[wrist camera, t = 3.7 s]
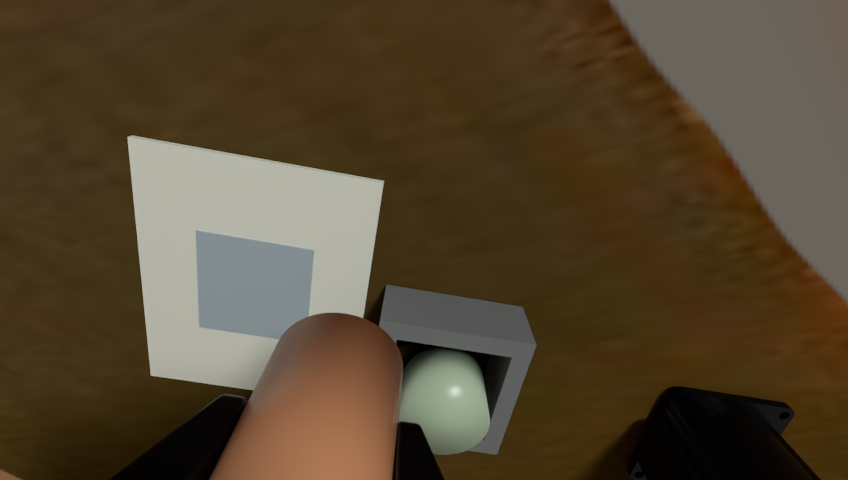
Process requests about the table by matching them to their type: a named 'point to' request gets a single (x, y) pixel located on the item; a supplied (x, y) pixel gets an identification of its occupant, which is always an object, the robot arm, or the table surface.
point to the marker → (321, 406)
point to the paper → (243, 255)
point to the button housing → (468, 342)
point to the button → (445, 399)
